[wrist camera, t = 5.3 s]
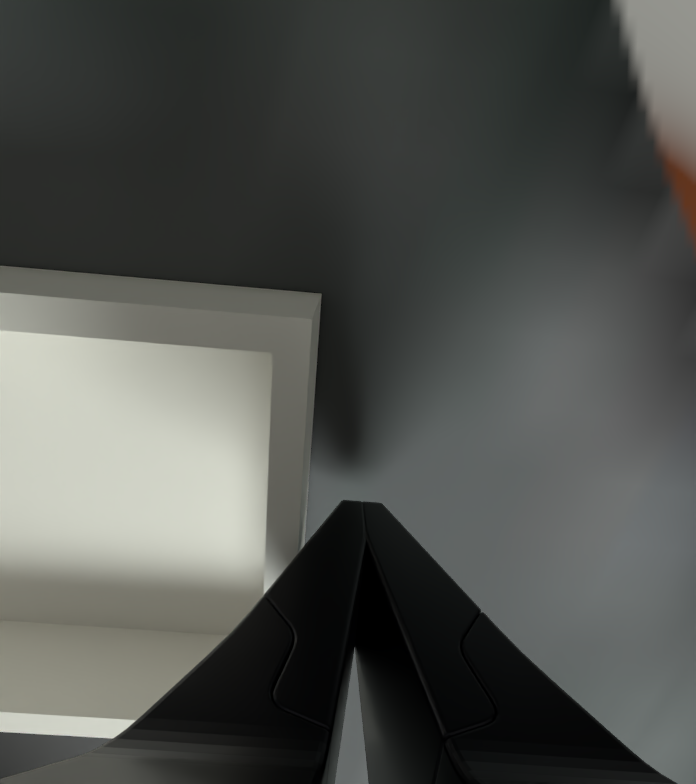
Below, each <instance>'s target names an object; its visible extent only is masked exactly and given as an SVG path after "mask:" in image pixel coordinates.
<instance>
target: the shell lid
mask: <svg viewBox="0 0 696 784" xmlns="http://www.w3.org/2000/svg"><path fill="white" fill-rule="evenodd" d="M321 296H322V294H321V293H309V292H298V291H286V290H275V289H263V288H252V287H240V286H229V285H217V284H206V283H195V282H183V281H172V280H160V279H149V278H137V277H126V276H114V275H103V274H91V273H80V272H68V271H57V270H45V269H34V268H22V267H11V266H0V732H12V733H29V734H46V735H63V736H80V737H97V738H114V737H116V736H117V735H119V734H120V733H121V732H123V731H124V730H125V729H127V728H128V727H129V726H130V725H131V724H132V723H134V722H135V721H136V720H137V719H138V718H139V717H140V716H142V715H143V714H144V713H145V712H146V711H147V710H148V709H149V708H150V707H151V706H152V705H153V704H155V703H156V702H157V701H158V700H159V699H160V698H161V697H162V696H163V695H164V694H165V693H167V692H168V691H169V690H170V689H171V688H172V687H173V686H174V685H175V684H176V683H177V682H179V681H180V680H181V679H182V678H183V677H184V676H185V675H186V674H187V673H188V672H189V671H190V670H192V669H193V668H194V667H195V666H196V665H197V664H198V663H199V662H200V661H201V660H202V659H204V658H205V657H206V656H207V655H208V654H209V653H210V652H211V651H212V650H213V649H214V648H215V647H216V646H217V645H218V644H219V643H220V642H221V641H222V640H223V639H224V638H225V637H226V636H227V635H228V634H229V633H230V632H231V631H232V630H233V629H234V628H235V627H236V626H237V625H238V624H239V622H240V621H241V620H242V619H243V618H244V617H245V616H246V615H247V614H248V612H249V611H250V610H251V609H252V608H253V606H254V605H255V604H256V603H257V602H258V600H259V599H260V598H261V597H263V595H264V594H265V592H266V591H267V590H268V589H269V588H270V586H271V585H272V584H273V583H274V582H275V580H276V579H277V578H278V577H279V576H280V574H281V573H282V572H283V571H284V570H285V568H286V567H287V566H288V565H289V564H290V562H291V561H292V560H293V559H294V558H295V556H296V555H297V554H298V553H299V552H300V550H301V549H302V548H303V547H304V545H305V531H306V516H307V502H308V487H309V472H310V458H311V443H312V428H313V413H314V399H315V384H316V369H317V355H318V340H319V325H320V311H321Z"/></svg>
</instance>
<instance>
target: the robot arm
mask: <svg viewBox="0 0 696 784" xmlns="http://www.w3.org/2000/svg"><path fill="white" fill-rule="evenodd" d="M354 647H355V653H356V663H357V673H358V682H359V692H360V702H361V712H362V722H363V732H364V741H365V751H366V761H367V771H368V781H369V784H677V783H676V782H674V781H672V780H670V779H669V778H667V777H665V776H664V775H662V774H661V773H659V772H658V771H656V770H655V769H654V768H652V767H651V766H649V765H648V764H647V763H645V762H644V761H643V760H642V759H640V758H639V757H638V756H637V755H636V754H634V753H633V752H632V751H631V750H630V749H629V748H627V747H626V746H625V745H624V744H623V743H622V742H621V741H620V740H618V739H617V738H616V737H615V736H614V735H613V734H612V733H611V732H610V731H608V730H607V729H606V728H605V727H604V726H603V725H602V724H601V723H599V722H598V721H597V720H596V719H595V718H594V717H593V716H592V715H590V714H589V713H588V712H587V711H586V710H585V709H584V708H583V707H581V706H580V705H579V704H578V703H577V702H576V701H575V700H574V699H573V698H571V697H570V696H569V695H568V694H567V693H566V692H565V691H564V690H562V689H561V688H560V687H559V686H558V685H557V684H556V683H555V682H553V681H552V680H551V679H550V678H549V677H548V676H547V675H546V674H545V673H544V672H543V671H542V670H540V669H539V668H538V667H537V666H536V665H535V664H534V663H533V662H532V661H531V660H530V659H529V658H528V657H526V656H525V655H524V654H523V653H522V652H521V651H520V650H519V649H518V648H517V647H516V646H515V645H514V644H513V643H512V642H511V641H510V640H509V639H508V638H507V637H506V636H505V634H504V633H503V632H502V631H501V630H500V629H499V628H498V627H497V626H496V625H495V624H494V623H493V622H492V621H491V620H490V619H489V618H488V617H487V615H486V614H485V613H481V609H480V608H479V607H478V606H477V605H476V604H475V603H474V602H473V601H472V600H471V599H470V597H469V596H468V595H467V594H466V593H465V592H464V591H463V590H462V589H461V588H460V587H459V586H458V585H457V584H456V582H455V581H454V580H453V579H452V578H451V577H450V576H449V575H448V574H447V573H446V572H445V571H444V570H443V568H442V567H441V566H440V565H439V564H438V563H437V562H436V561H435V560H434V559H433V558H432V557H431V556H430V554H429V553H428V552H427V551H426V550H425V549H424V548H423V547H422V546H421V545H420V544H419V543H418V542H417V541H416V539H415V538H414V537H413V536H412V535H411V534H410V533H409V532H408V531H407V530H406V529H405V528H404V527H403V525H402V524H401V523H400V522H399V521H398V520H397V519H396V518H395V517H394V516H393V515H392V514H391V513H390V511H389V510H388V509H387V508H386V507H385V506H384V505H383V504H381V503H376V502H361V501H350V500H343V501H341V502H340V503H339V505H338V506H337V507H336V508H335V509H334V511H333V512H332V513H331V514H330V515H329V517H328V518H327V519H326V520H325V521H324V523H323V524H322V525H321V526H320V527H319V529H318V530H317V531H316V532H315V533H314V535H313V536H312V537H311V538H310V539H309V541H308V542H307V543H306V544H305V545H304V547H303V548H302V549H301V550H300V552H299V553H298V554H297V555H296V556H295V558H294V559H293V560H292V561H291V562H290V564H289V565H288V566H287V567H286V568H285V570H284V571H283V572H282V573H281V574H280V576H279V577H278V578H277V579H276V580H275V582H274V583H273V584H272V585H271V586H270V588H269V589H268V590H267V591H266V592H265V594H264V595H263V597H261V598H260V599H259V600H258V602H257V603H256V604H255V605H254V606H253V608H252V609H251V610H250V611H249V612H248V614H247V615H246V616H245V617H244V618H243V619H242V620H241V621H240V622H239V624H238V625H237V626H236V627H235V628H234V629H233V630H232V631H231V632H230V633H229V634H228V635H227V636H226V637H225V638H224V639H223V640H222V641H221V642H220V643H219V644H218V645H217V646H216V647H215V648H214V649H213V650H212V651H211V652H210V653H209V654H208V655H207V656H206V657H205V658H204V659H202V660H201V661H200V662H199V663H198V664H197V665H196V666H195V667H194V668H193V669H192V670H190V671H189V672H188V673H187V674H186V675H185V676H184V677H183V678H182V679H181V680H180V681H179V682H177V683H176V684H175V685H174V686H173V687H172V688H171V689H170V690H169V691H168V692H167V693H165V694H164V695H163V696H162V697H161V698H160V699H159V700H158V701H157V702H156V703H155V704H153V705H152V706H151V707H150V708H149V709H148V710H147V711H146V712H145V713H144V714H143V715H142V716H140V717H139V718H138V719H137V720H136V721H135V722H134V723H132V724H131V725H130V726H129V727H128V728H127V729H125V730H124V731H123V732H121V733H120V734H119V735H117V736H116V737H114V738H113V739H112V740H110V741H108V742H107V743H105V744H104V745H102V746H100V747H99V748H97V749H95V750H92V751H90V752H88V753H86V754H83V755H80V756H77V757H74V758H71V759H67V760H64V761H60V762H57V763H54V764H50V765H47V766H43V767H40V768H36V769H33V770H29V771H26V772H23V773H19V774H16V775H12V776H9V777H5V778H2V779H0V784H335V777H336V770H337V763H338V757H339V750H340V743H341V736H342V729H343V722H344V716H345V709H346V702H347V695H348V688H349V681H350V675H351V668H352V661H353V654H354Z"/></svg>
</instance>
